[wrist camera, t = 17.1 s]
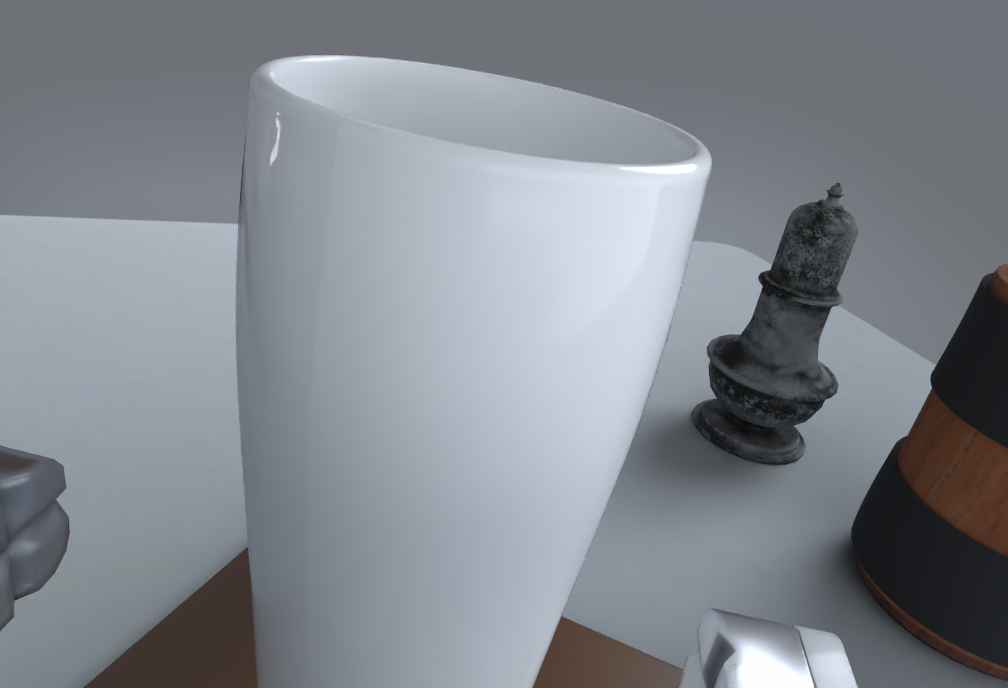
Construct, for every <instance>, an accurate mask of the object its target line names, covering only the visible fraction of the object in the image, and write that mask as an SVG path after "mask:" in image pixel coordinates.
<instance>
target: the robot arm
mask: <svg viewBox="0 0 1008 688" xmlns="http://www.w3.org/2000/svg"><path fill="white" fill-rule="evenodd" d="M65 489H66V482H65V474H64V467H63V465H61V464H60V463H58V462H57V461H56V460H54V459H51V458H47V457H43V456H39V455H35V454H31V453H27V452H23V451H19V450H15V449H11V448H7V447H3V446H0V631H1V630H2V629H3V628H4V627H5V626H6V624H7V623H8V622H9V621H10V620H11V619H12V618H13V617H14V601H15V600H17V599H19V598H22V597H24V596H27V595H29V594H31V593H34V592H36V591H39V590H40V589H41V588H42V587H43V585H44V584H45V583H46V582H47V581H48V580H49V579H50V578H51V577H52V576H53V575H54V573H55V572H56V570H57V568H58V566H59V564H60V562H61V560H62V558H63V556H64V554H65V552H66V549H67V544H68V538H69V533H70V531H69V517H68V515H67V514H66V513H65V511H64V510H63V509H62V507H61V506H60V505H59V503H58V502H57V501H56V499H57V498H58V496H59V495H60V494H61V493H62V492H63V491H64V490H65ZM697 635H698V644H699V652H697V653H695V654H694V655H692V656H690V657H689V658H687V660H686V663H685V666H684V669H683V672H682V675H681V678H680V682H679V688H858V686H857V683H856V680H855V678H854V675H853V672H852V669H851V666H850V664H849V661H848V658H847V655H846V652H845V650H844V647H843V644H842V641H841V640H840V639H839V638H838V637H837V636H836V634H834V633H829V632H825V631H820V630H815V629H810V628H805V627H800V626H795V625H792V626H789V625H786V624H782V623H777V622H772V621H768V620H763V619H759V618H754V617H750V616H745V615H741V614H736V613H731V612H727V611H722V610H718V609H713V608H709V609H708V610H707V611H706V613H705V614H704V615H703V618H702V620H701V623H700V625H699V628H698V630H697Z"/></svg>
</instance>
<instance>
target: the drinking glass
mask: <svg viewBox="0 0 1008 688" xmlns="http://www.w3.org/2000/svg"><path fill="white" fill-rule="evenodd" d="M711 167H712V159H711V156H710V152H709V151H708V149H707V148H706V147H705V145H704V144H703V143H702V142H700V141H699V140H698V139H697V138H695V137H694V136H692V135H691V134H689V133H688V132H686V131H684V130H682V129H680V128H678V127H676V126H674V125H672V124H670V123H667V122H665V121H663V120H661V119H658V118H655V117H653V116H650V115H648V114H645V113H642V112H639V111H637V110H634V109H631V108H628V107H625V106H622V105H619V104H615V103H612V102H609V101H605V100H602V99H598V98H595V97H591V96H588V95H584V94H580V93H577V92H573V91H569V90H565V89H560V88H557V87H552V86H548V85H544V84H540V83H535V82H531V81H526V80H521V79H516V78H511V77H507V76H501V75H497V74H491V73H486V72H480V71H474V70H468V69H463V68H456V67H450V66H443V65H437V64H430V63H421V62H414V61H406V60H397V59H387V58H376V57H375V58H374V57H362V56H341V55H306V56H293V57H286V58H280V59H276V60H272V61H269V62H267V63H265V64H263V65H261V66H260V67H258V68H257V69H256V70H255V71H254V72H253V74H252V77H251V80H250V84H249V103H248V114H247V125H246V136H245V145H244V157H243V167H242V180H241V193H240V207H239V223H238V241H237V266H236V360H237V387H238V404H239V422H240V438H241V453H242V467H243V481H244V496H245V510H246V524H247V538H248V553H249V568H250V583H251V598H252V614H253V630H254V646H255V663H256V681H257V688H533V686H534V684H535V681H536V679H537V676H538V674H539V671H540V669H541V666H542V664H543V661H544V659H545V656H546V654H547V651H548V649H549V646H550V644H551V642H552V639H553V637H554V634H555V632H556V629H557V627H558V624H559V622H560V619H561V617H562V614H563V612H564V609H565V607H566V605H567V602H568V600H569V597H570V595H571V592H572V590H573V587H574V585H575V583H576V580H577V578H578V575H579V573H580V570H581V568H582V565H583V563H584V561H585V558H586V556H587V553H588V551H589V548H590V546H591V544H592V541H593V539H594V536H595V534H596V531H597V529H598V527H599V524H600V522H601V519H602V517H603V514H604V512H605V509H606V507H607V505H608V502H609V500H610V497H611V495H612V492H613V490H614V487H615V485H616V483H617V480H618V477H619V475H620V472H621V470H622V467H623V465H624V462H625V460H626V457H627V455H628V452H629V450H630V447H631V445H632V442H633V439H634V437H635V434H636V431H637V429H638V426H639V423H640V420H641V418H642V415H643V412H644V410H645V407H646V404H647V401H648V398H649V395H650V392H651V389H652V386H653V383H654V380H655V377H656V374H657V371H658V367H659V364H660V361H661V358H662V355H663V351H664V348H665V345H666V342H667V338H668V335H669V331H670V328H671V324H672V321H673V317H674V314H675V310H676V307H677V303H678V299H679V296H680V292H681V288H682V285H683V281H684V277H685V273H686V269H687V265H688V261H689V257H690V253H691V249H692V245H693V241H694V236H695V232H696V228H697V224H698V219H699V215H700V211H701V206H702V202H703V198H704V193H705V189H706V185H707V182H708V178H709V175H710V172H711Z"/></svg>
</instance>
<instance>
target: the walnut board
mask: <svg viewBox="0 0 1008 688" xmlns="http://www.w3.org/2000/svg"><path fill="white" fill-rule="evenodd" d="M682 672H683V670H682V669H680V668H678V667H675V666H673V665H671V664H669V663H666V662H664V661H662V660H660V659H657V658H655V657H653V656H650V655H648V654H646V653H644V652H641V651H639V650H637V649H635V648H632V647H630V646H628V645H626V644H623V643H621V642H619V641H617V640H614V639H612V638H610V637H607V636H605V635H603V634H601V633H598V632H596V631H594V630H592V629H589V628H587V627H585V626H583V625H580V624H578V623H576V622H573V621H571V620H569V619H567V618H564V617H561V619H560V622H559V624H558V627H557V629H556V632H555V634H554V637H553V639H552V642H551V644H550V646H549V649H548V651H547V654H546V656H545V659H544V661H543V664H542V666H541V669H540V671H539V674H538V676H537V679H536V681H535V684H534V686H533V688H679V682H680V678H681V675H682ZM84 688H257V681H256V663H255V646H254V630H253V614H252V598H251V583H250V568H249V553H248V547H247V548H246V549H245V550H244V551H243V552H242V553H240V554H239V555H238V556H237V557H236V558H235V559H233V560H232V561H231V562H230V563H229V564H228V565H226V566H225V567H224V568H223V569H222V570H221V571H219V572H218V573H217V574H216V575H215V576H214V577H212V578H211V579H210V580H209V581H208V582H207V583H205V584H204V585H203V586H202V587H201V588H200V589H198V590H197V591H196V592H195V593H194V594H193V595H191V596H190V597H189V598H188V599H187V600H186V601H184V602H183V603H182V604H181V605H180V606H179V607H177V608H176V609H175V610H174V611H173V612H172V613H170V614H169V615H168V616H167V617H166V618H165V619H163V620H162V621H161V622H160V623H159V624H158V625H156V626H155V627H154V628H153V629H152V630H151V631H149V632H148V633H147V634H146V635H145V636H144V637H142V638H141V639H140V640H139V641H138V642H137V643H135V644H134V645H133V646H132V647H131V648H130V649H128V650H127V651H126V652H125V653H124V654H123V655H121V656H120V657H119V658H118V659H117V660H116V661H114V662H113V663H112V664H111V665H110V666H109V667H107V668H106V669H105V670H104V671H103V672H102V673H100V674H99V675H98V676H97V677H96V678H95V679H93V680H92V681H91V682H90V683H89V684H88V685H86V686H85V687H84Z"/></svg>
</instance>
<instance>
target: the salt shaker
mask: <svg viewBox="0 0 1008 688" xmlns="http://www.w3.org/2000/svg"><path fill="white" fill-rule="evenodd" d="M827 192H828V197H827V199H826V200H820V201H818V202H815V203H808V204H804V205H801V206H799V207H798V208H796V209H795V210H794V211H793V212H792V213H791V215H790V217H789V219H788V221H787V225H786V227H785V230H784V233H783V236H782V239H781V242H780V244H779V247H778V250H777V253H776V256H775V259H774V262H773V265H772V268H771V270H769V271H765V272H762V273H761V274H760V275H759V277H758V278H759V282H760V283H761V284H762V285H763V288H762V291H761V294H760V297H759V300H758V302H757V305H756V308H755V311H754V314H753V317H752V319H751V321H750V322H749V324H748V325H747V327H746V328H745V330H744V331H743V332H742V334H741V335H725V336H720V337H718V338H716V339H713V340H712V341H711V342H710V343H709V345H708V346H707V354H708V357H709V358H710V363H709V376H710V386H711V389H712V390H713V392H714V394H715V396H716V397H717V399H711V400H707V401H703V402H702V403H700V404H698V405H697V406H696V407H695V409H694V411H693V422H694V424H695V425H696V427H697V429H698V430H699V431H700V432H701V433H702V434H703V435H704V436H705V437H706V438H707V439H709V440H710V441H711V442H713V443H714V444H715V445H717V446H719V447H721V448H723V449H724V450H726V451H728V452H730V453H733V454H735V455H738V456H740V457H743V458H746V459H750V460H754V461H758V462H763V463H772V464H782V463H790V462H793V461H796V460H798V459H799V458H800V457H801V456H802V455H803V454H804V450H805V447H806V446H805V443H804V439H803V437H802V436H801V435H800V433H799V432H798V430H797V429H796V428H795V427H794V425H797V424H800V423H803V422H806V421H807V420H808V419H809V418H811V417H812V416H813V415H814V414H815V413H816V412H817V411H818V410H819V409H820V408H821V407H822V406H823V403H824V401H825V399H829V398H831V397H832V396H833V395H834V394H836V392H837V389H838V382H837V380H836V377H835V375H834V374H833V373H832V372H831V371H830V370H829V369H828V367H826V366H825V365H824V364H822V363H821V362H820V361H818V360H817V359H818V346H819V339H820V336H821V333H822V331H823V328H824V325H825V323H826V320H827V318H828V315H829V313H830V310H831V307H833V306H837V305H839V304H841V303H842V300H843V297H842V296H841V294H840V293H839V292H838V290H837V287H838V284H839V282H840V279H841V277H842V274H843V271H844V269H845V266H846V264H847V261H848V259H849V256H850V253H851V251H852V248H853V246H854V243H855V241H856V238H857V234H858V225H857V222H856V220H855V219H854V218H853V217H852V215H851V214H850V213H848V212H847V211H845V210H844V209H843V206H842V205H841V204H839V203H838V201H839V198H840V197H841V196H843V195H844V194H843V193H841V192H842V188H841V187H840V183H837V184H836V185H834V186H832V187H831V189H830V190H827Z"/></svg>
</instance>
